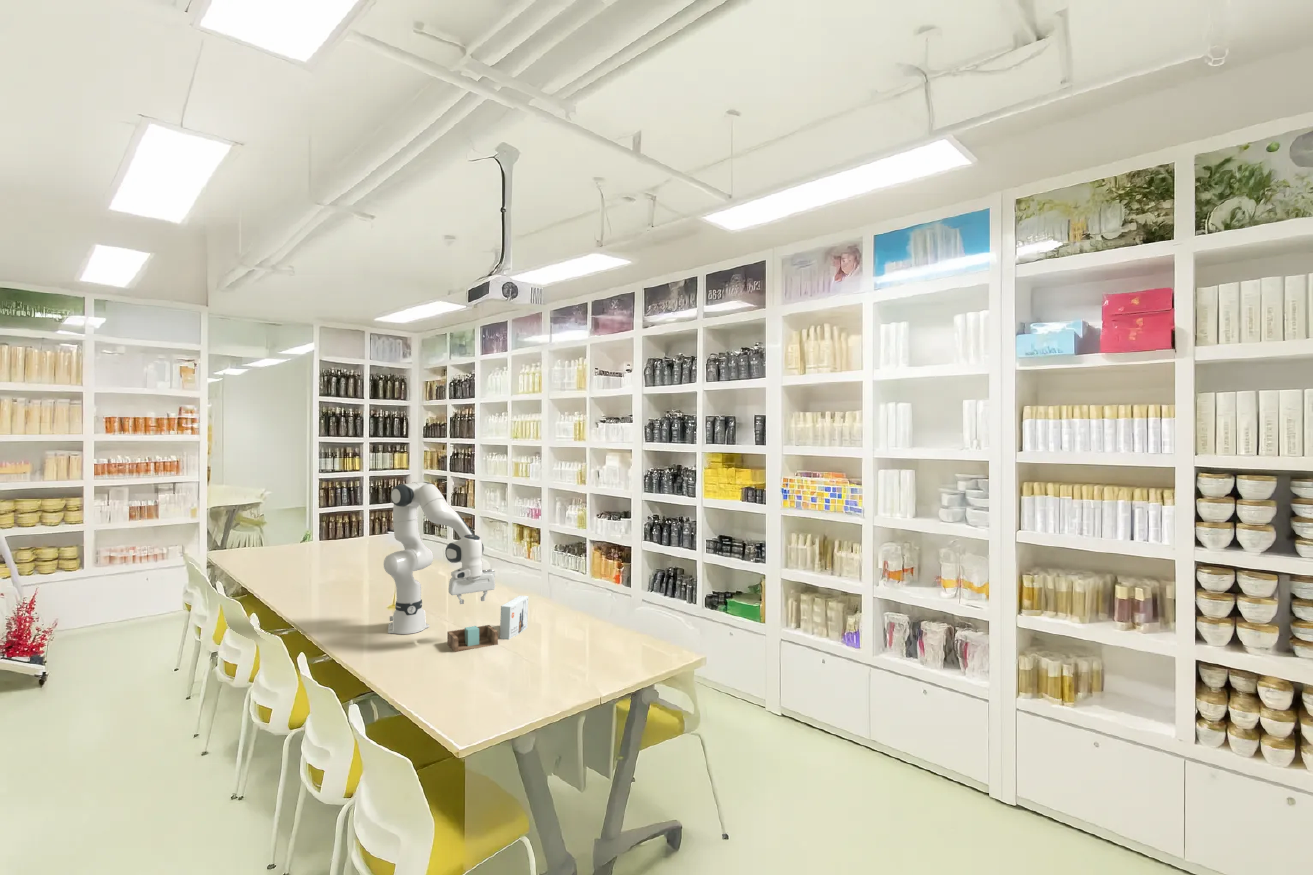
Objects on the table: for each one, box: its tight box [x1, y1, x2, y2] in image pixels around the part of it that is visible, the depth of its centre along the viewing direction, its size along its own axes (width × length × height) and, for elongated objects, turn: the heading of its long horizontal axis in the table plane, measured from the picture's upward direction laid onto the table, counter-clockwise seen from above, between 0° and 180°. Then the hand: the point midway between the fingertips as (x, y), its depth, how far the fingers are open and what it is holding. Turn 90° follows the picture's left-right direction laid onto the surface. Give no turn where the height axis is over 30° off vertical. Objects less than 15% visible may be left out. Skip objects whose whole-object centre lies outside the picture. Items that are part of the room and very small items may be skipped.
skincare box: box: [499, 595, 529, 640], centre depth 299 cm, size 21×6×16 cm, turn 168°
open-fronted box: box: [446, 624, 499, 653], centre depth 281 cm, size 12×19×6 cm, turn 123°
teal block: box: [464, 625, 479, 646], centre depth 282 cm, size 5×5×7 cm
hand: (472, 602), depth 282 cm, fingers open, 8 cm apart
